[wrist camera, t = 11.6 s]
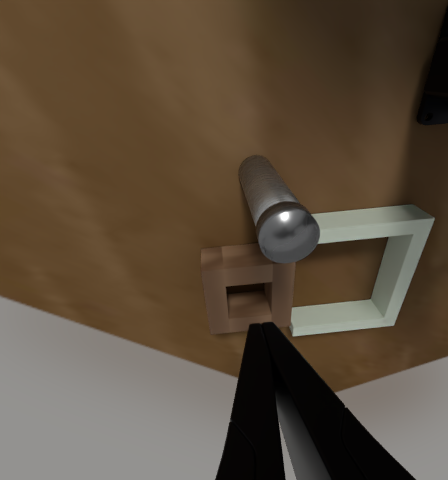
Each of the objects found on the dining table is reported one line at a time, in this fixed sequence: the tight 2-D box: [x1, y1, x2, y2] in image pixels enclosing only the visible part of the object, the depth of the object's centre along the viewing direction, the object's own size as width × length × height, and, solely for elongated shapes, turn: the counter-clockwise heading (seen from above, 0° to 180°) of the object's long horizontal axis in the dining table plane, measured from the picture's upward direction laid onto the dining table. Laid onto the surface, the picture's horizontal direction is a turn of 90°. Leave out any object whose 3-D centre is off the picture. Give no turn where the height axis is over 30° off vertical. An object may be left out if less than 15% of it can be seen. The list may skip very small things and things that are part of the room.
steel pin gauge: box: [239, 155, 320, 263], centre depth 15 cm, size 3×3×9 cm
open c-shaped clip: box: [289, 204, 435, 336], centre depth 23 cm, size 10×11×2 cm
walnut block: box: [201, 243, 296, 335], centre depth 23 cm, size 7×7×3 cm
